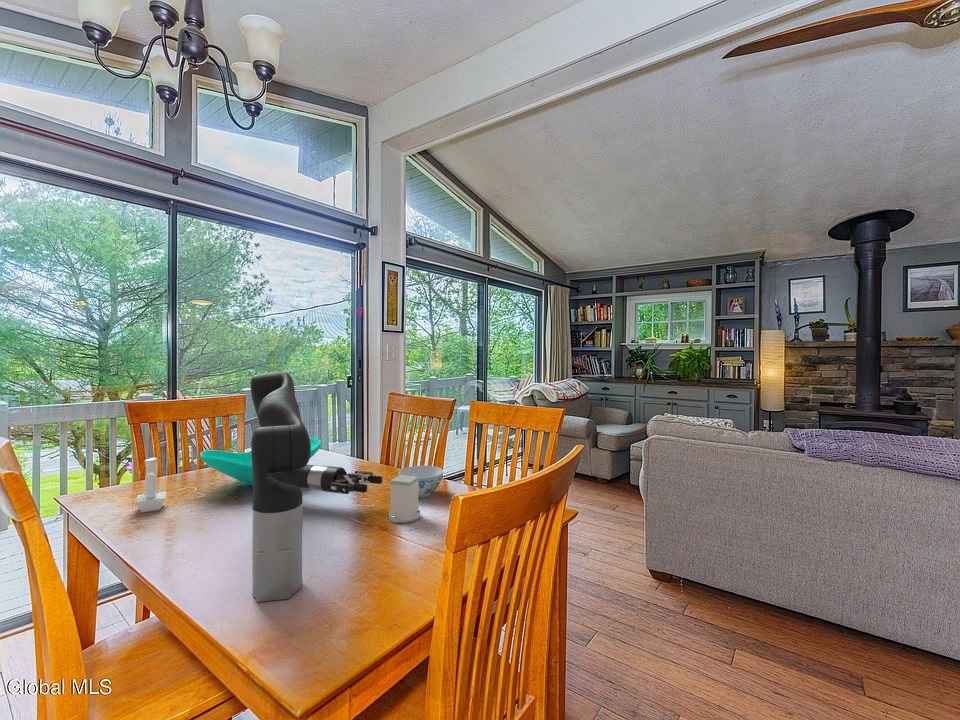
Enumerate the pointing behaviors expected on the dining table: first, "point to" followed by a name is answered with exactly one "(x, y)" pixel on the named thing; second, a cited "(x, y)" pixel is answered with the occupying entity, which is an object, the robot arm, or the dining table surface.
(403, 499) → the pale green block
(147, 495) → the figurine
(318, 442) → the table top decor
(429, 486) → the chinaware
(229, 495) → the dining table surface
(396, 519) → the grey post on dish
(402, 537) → the dining table surface
